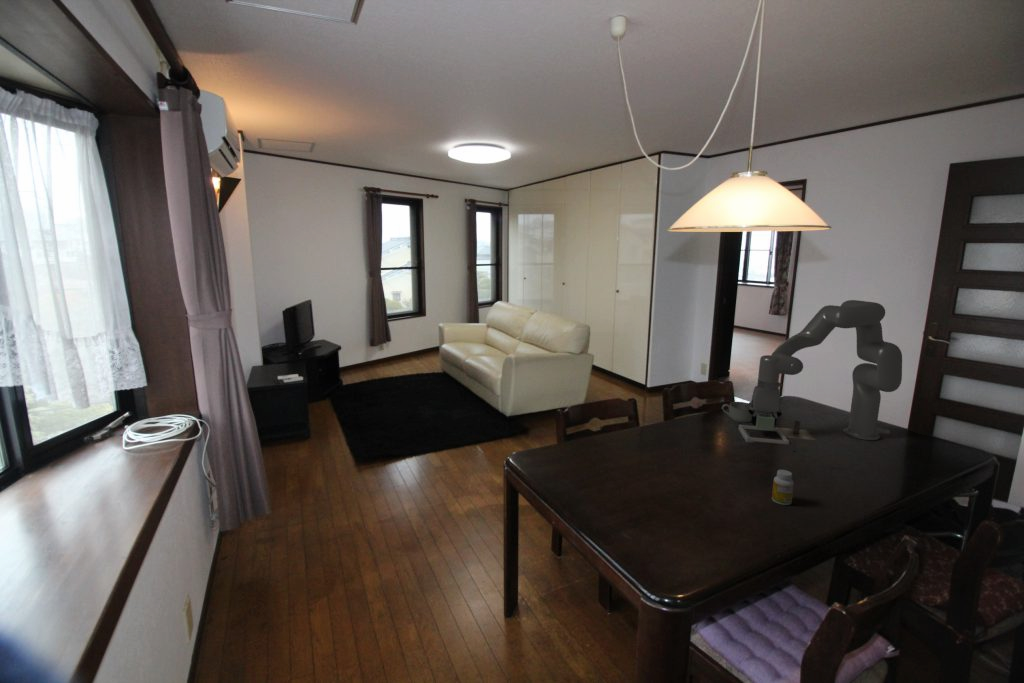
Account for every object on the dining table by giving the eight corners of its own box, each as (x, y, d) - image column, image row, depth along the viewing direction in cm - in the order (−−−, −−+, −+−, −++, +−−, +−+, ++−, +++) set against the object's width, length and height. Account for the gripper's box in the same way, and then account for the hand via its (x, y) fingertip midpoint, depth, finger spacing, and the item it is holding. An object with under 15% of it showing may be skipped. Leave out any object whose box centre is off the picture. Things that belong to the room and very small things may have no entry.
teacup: (754, 420, 215) (756, 403, 213) (752, 427, 206) (754, 410, 204) (722, 414, 222) (724, 399, 221) (719, 421, 213) (720, 405, 212)
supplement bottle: (773, 494, 146) (776, 466, 144) (792, 500, 143) (796, 471, 141) (770, 501, 142) (773, 472, 140) (789, 507, 139) (793, 478, 137)
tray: (777, 432, 199) (777, 427, 198) (788, 446, 184) (789, 441, 184) (738, 429, 203) (739, 424, 202) (746, 442, 188) (747, 437, 188)
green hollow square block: (769, 424, 195) (770, 413, 194) (773, 430, 189) (774, 418, 188) (752, 423, 196) (754, 412, 196) (756, 428, 190) (757, 417, 189)
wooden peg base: (806, 432, 200) (808, 418, 198) (816, 442, 188) (818, 427, 187) (776, 429, 203) (777, 415, 202) (784, 439, 191) (786, 424, 190)
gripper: (787, 384, 191) (783, 424, 194) (743, 381, 195) (739, 420, 198) (793, 389, 184) (788, 430, 187) (747, 385, 188) (742, 426, 191)
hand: (763, 425), depth 192 cm, fingers closed on green hollow square block, 6 cm apart
